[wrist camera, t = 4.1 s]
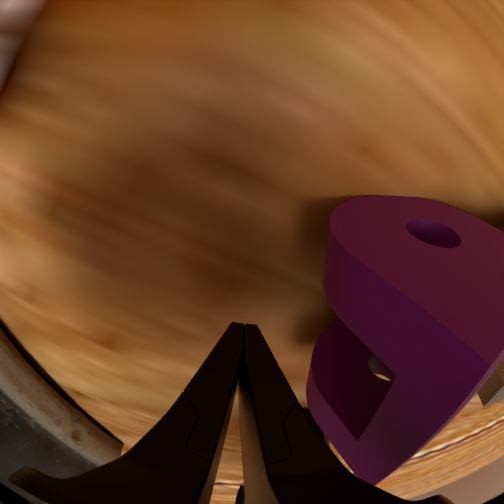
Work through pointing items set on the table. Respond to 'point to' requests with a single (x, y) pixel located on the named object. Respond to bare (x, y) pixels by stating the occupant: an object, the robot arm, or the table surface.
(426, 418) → the mounting bracket
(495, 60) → the table surface
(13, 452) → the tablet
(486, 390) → the stop blocks
